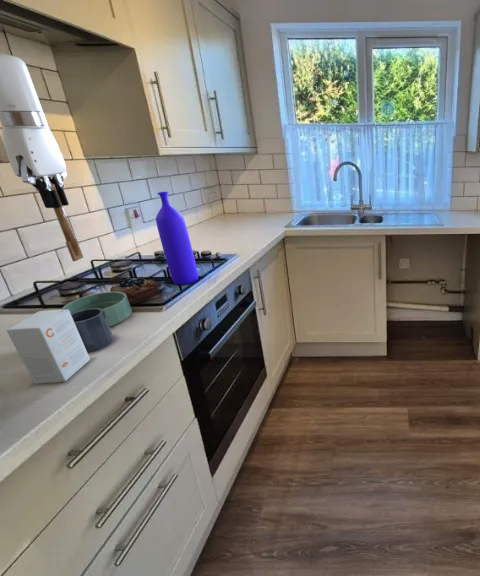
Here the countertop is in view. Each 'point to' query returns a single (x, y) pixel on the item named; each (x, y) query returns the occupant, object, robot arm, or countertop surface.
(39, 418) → the countertop surface
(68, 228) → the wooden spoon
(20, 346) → the small box
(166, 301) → the countertop surface
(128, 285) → the pastry
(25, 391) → the countertop surface
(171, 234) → the bottle
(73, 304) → the bowl
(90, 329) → the crock
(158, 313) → the countertop surface
